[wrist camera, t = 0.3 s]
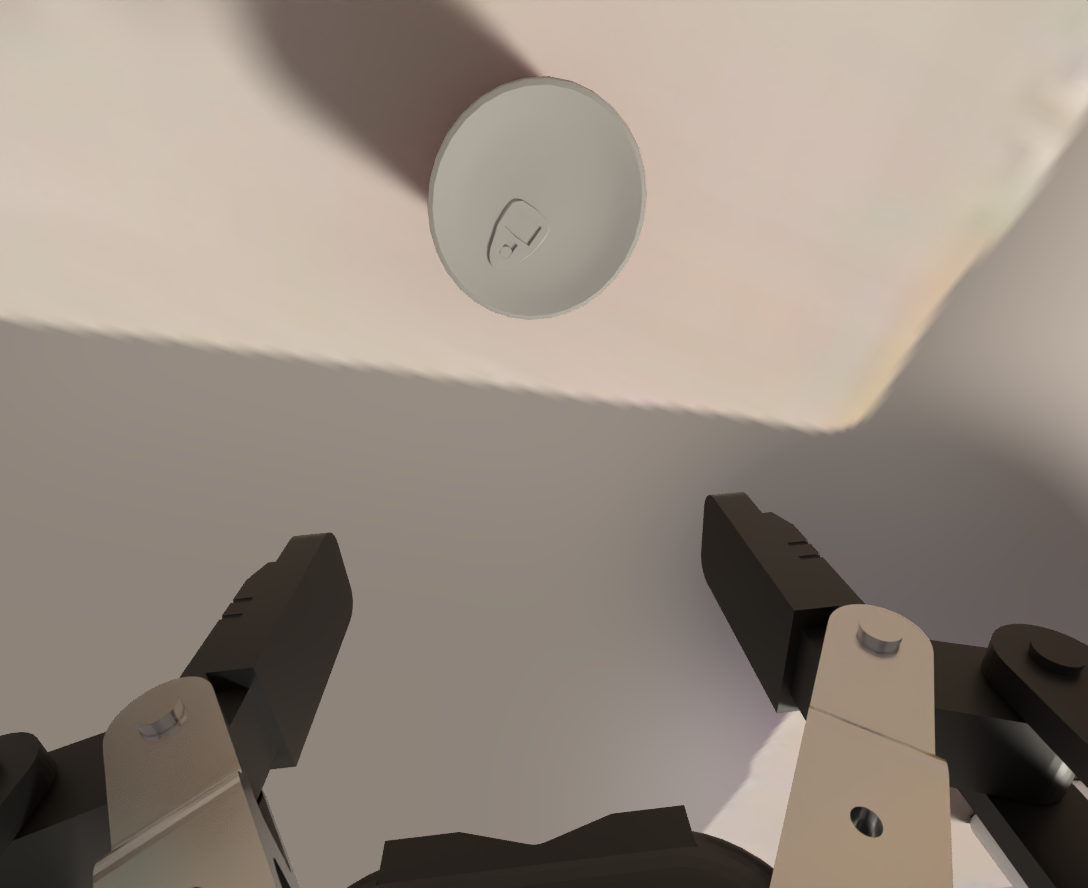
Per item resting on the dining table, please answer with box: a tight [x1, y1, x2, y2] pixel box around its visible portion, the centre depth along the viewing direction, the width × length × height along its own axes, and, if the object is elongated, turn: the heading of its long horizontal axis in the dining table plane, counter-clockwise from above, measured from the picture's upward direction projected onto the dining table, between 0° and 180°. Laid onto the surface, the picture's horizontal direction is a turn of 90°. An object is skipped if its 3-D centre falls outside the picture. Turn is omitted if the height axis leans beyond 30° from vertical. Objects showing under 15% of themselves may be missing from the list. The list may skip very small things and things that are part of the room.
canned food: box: [428, 76, 647, 320], centre depth 23 cm, size 8×8×11 cm
